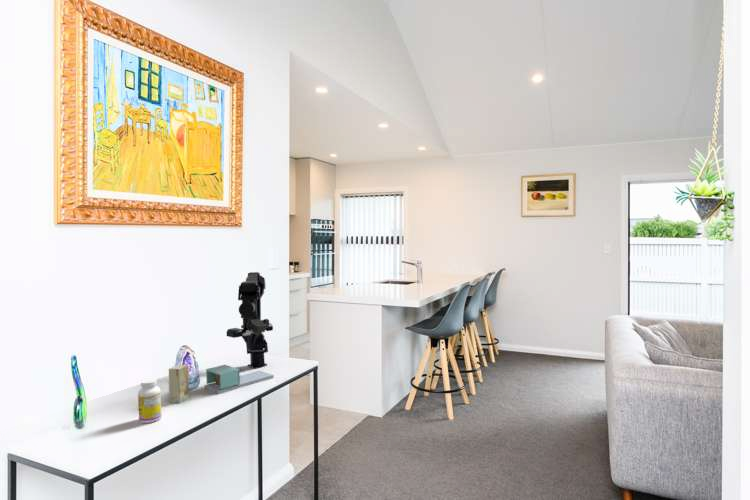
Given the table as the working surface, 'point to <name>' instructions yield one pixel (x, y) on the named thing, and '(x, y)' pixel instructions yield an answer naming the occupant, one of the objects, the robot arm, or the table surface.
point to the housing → (223, 376)
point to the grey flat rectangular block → (242, 381)
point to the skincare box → (178, 383)
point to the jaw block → (217, 379)
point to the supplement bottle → (149, 401)
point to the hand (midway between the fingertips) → (251, 350)
